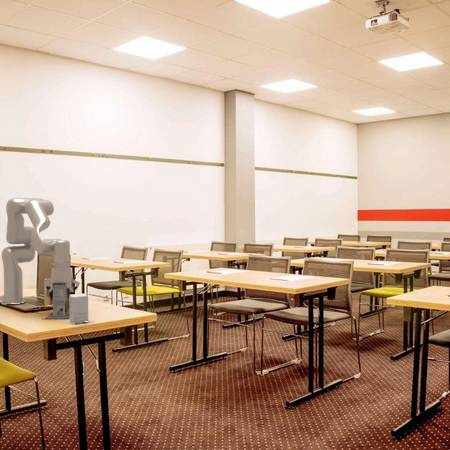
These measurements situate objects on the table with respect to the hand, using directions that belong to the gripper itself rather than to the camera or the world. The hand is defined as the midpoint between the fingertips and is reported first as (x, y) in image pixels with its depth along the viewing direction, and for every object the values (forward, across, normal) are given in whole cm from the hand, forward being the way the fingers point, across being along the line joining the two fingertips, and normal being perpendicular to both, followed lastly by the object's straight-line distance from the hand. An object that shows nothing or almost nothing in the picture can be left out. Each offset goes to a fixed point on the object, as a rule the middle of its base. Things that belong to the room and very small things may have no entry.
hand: (62, 299), depth 253 cm
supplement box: (+8, +12, -14) cm, 20 cm away
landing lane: (+8, -1, 0) cm, 8 cm away
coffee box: (+7, 0, 0) cm, 8 cm away
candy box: (+8, -11, +21) cm, 25 cm away
